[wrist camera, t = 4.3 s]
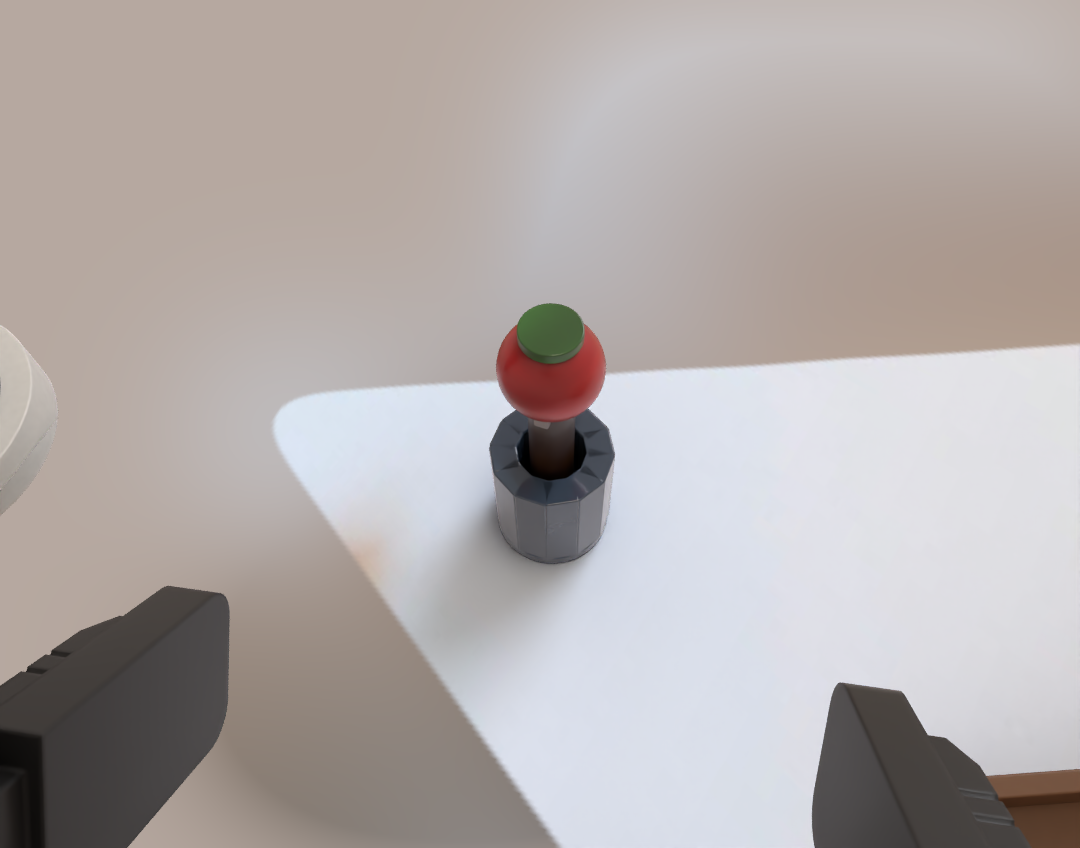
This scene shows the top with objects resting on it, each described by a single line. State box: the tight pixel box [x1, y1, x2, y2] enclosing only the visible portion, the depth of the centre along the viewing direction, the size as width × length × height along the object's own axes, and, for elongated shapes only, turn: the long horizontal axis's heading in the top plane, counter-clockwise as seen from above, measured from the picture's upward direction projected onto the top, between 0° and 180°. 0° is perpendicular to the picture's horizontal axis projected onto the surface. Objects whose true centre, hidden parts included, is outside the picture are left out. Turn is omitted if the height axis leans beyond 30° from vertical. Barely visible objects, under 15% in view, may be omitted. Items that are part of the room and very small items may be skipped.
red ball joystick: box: [496, 303, 606, 481], centre depth 30 cm, size 3×3×11 cm
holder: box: [489, 409, 615, 563], centre depth 33 cm, size 4×4×5 cm
